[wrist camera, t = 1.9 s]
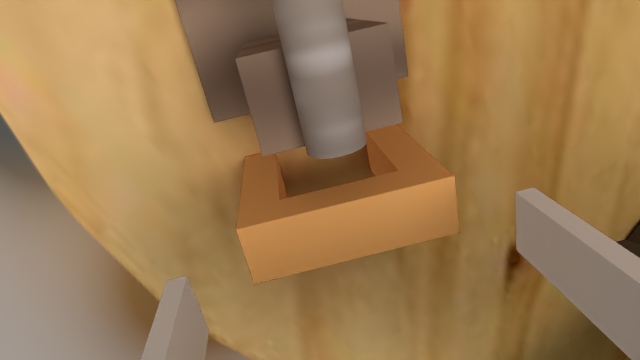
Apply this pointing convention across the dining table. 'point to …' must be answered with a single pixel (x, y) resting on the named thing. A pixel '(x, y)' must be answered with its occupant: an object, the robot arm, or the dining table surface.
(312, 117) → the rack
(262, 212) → the orange open frame
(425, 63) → the dining table surface
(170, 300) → the robot arm
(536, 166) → the dining table surface
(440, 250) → the dining table surface
